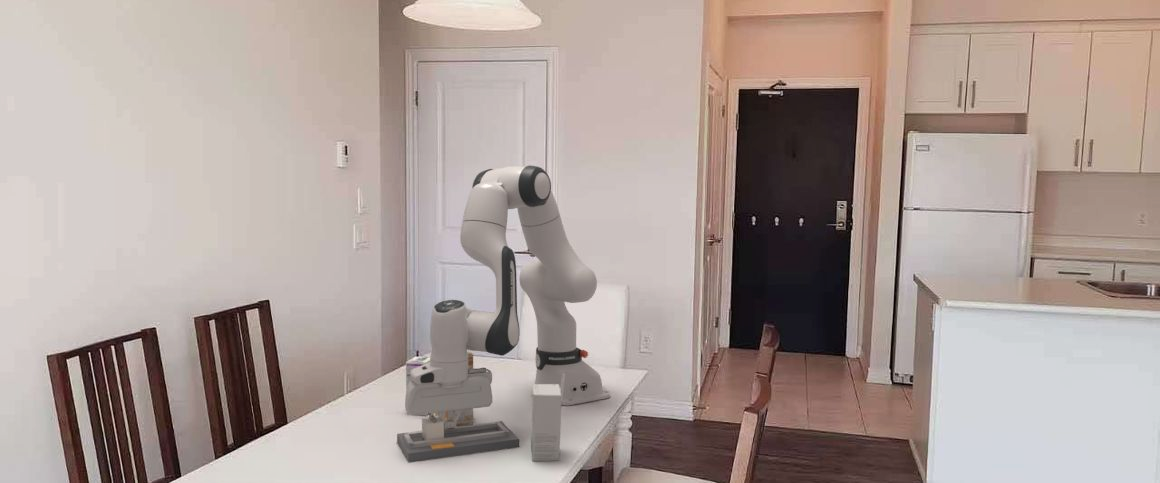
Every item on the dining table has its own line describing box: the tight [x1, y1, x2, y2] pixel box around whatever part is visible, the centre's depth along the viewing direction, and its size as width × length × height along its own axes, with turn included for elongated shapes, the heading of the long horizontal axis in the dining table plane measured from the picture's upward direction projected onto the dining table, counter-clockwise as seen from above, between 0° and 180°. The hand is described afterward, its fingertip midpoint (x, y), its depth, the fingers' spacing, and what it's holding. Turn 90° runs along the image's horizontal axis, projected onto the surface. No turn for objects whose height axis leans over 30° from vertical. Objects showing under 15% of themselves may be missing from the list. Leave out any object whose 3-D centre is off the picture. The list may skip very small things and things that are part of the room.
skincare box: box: [530, 383, 562, 462], centre depth 181 cm, size 8×7×16 cm
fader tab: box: [421, 413, 444, 440], centre depth 185 cm, size 4×5×5 cm
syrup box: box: [405, 356, 430, 417], centre depth 211 cm, size 6×6×14 cm
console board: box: [396, 420, 521, 463], centre depth 187 cm, size 26×14×3 cm, turn 113°
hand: (449, 428), depth 186 cm, fingers closed
